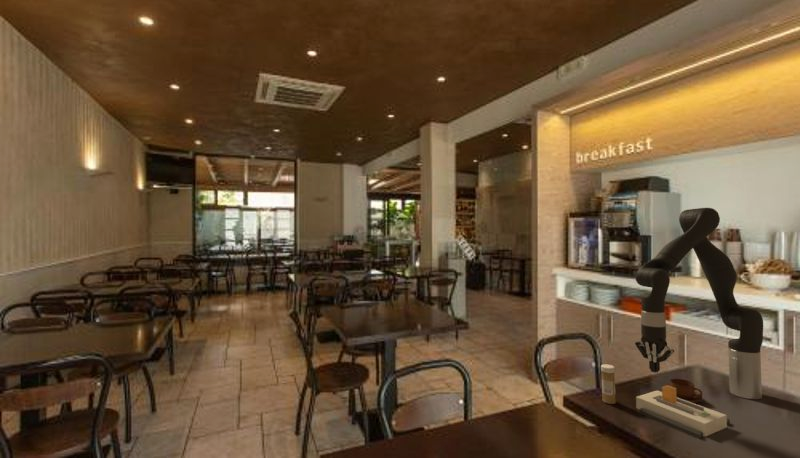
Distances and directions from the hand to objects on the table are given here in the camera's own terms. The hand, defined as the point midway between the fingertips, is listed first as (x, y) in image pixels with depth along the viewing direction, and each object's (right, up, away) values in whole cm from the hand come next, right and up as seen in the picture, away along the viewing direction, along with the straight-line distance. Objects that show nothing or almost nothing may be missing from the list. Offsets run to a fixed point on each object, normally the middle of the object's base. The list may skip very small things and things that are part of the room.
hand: (654, 371), depth 140 cm
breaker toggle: (+3, -9, -4) cm, 10 cm away
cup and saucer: (+16, -13, +7) cm, 22 cm away
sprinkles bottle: (-13, -14, +6) cm, 20 cm away
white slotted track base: (+5, -13, -7) cm, 16 cm away
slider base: (+4, -13, -7) cm, 15 cm away
